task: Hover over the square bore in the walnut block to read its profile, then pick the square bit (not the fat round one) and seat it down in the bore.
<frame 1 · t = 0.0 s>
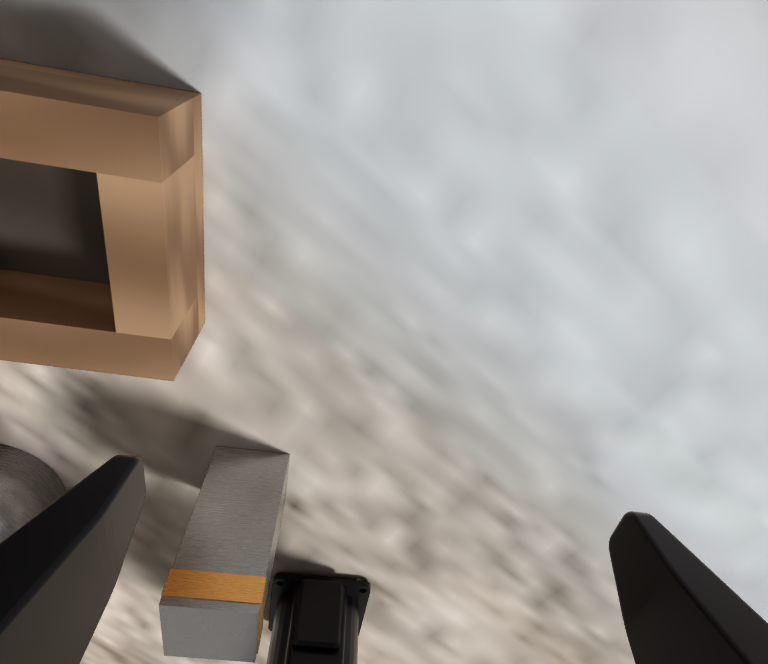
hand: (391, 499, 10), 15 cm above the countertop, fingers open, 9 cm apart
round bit: (6, 484, 31), on the countertop
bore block: (79, 202, 22), on the countertop
square bit: (252, 475, 30), on the countertop
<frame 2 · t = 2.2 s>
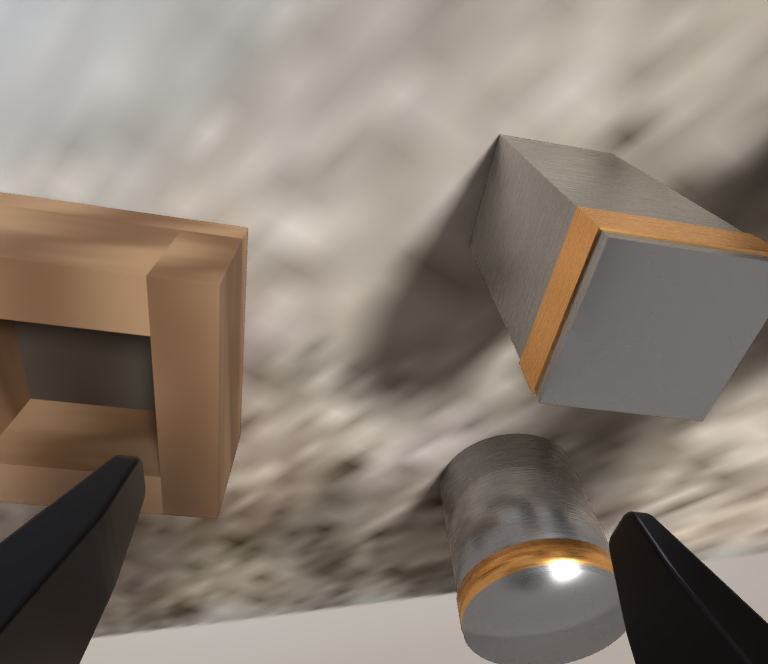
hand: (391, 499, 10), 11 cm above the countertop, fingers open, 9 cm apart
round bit: (505, 483, 26), on the countertop
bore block: (113, 329, 21), on the countertop
square bit: (538, 202, 19), on the countertop
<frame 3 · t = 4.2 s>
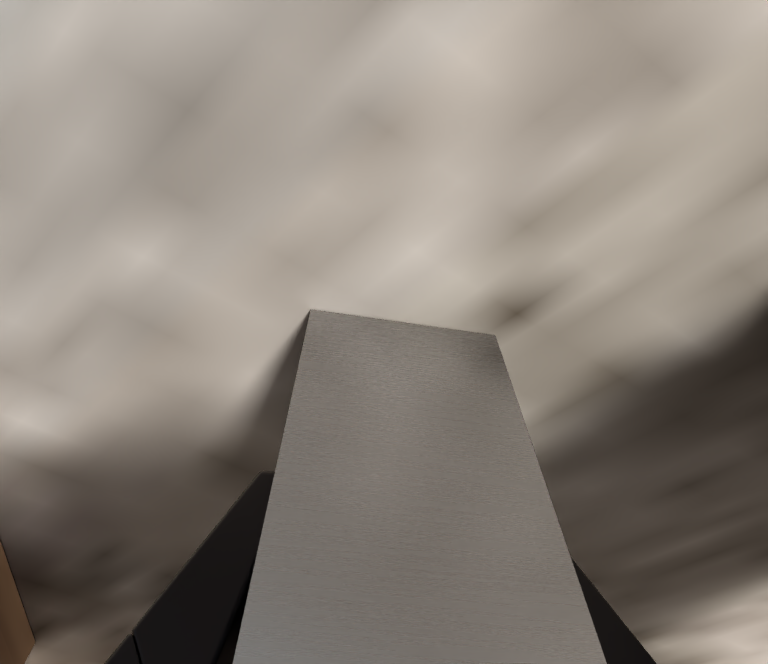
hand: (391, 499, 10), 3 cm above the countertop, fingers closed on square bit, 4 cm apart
square bit: (388, 395, 12), on the countertop, touching gripper
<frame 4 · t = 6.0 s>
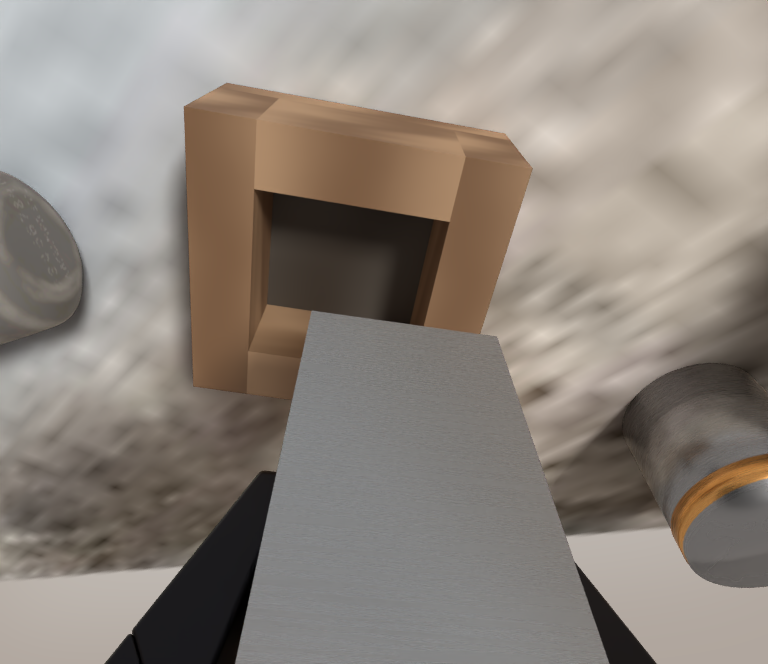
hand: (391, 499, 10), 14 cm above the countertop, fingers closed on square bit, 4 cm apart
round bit: (690, 416, 26), on the countertop
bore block: (350, 238, 21), on the countertop
square bit: (389, 396, 12), point 11 cm above the countertop, touching gripper
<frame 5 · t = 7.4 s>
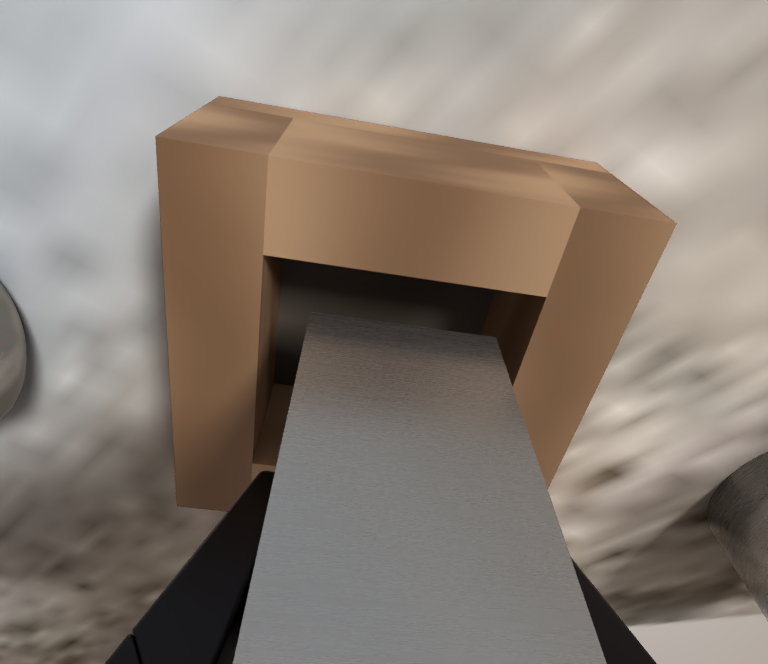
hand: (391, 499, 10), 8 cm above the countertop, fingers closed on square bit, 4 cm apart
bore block: (382, 297, 16), on the countertop
square bit: (388, 397, 12), point 5 cm above the countertop, touching gripper
when the fingers open (5 cm above the countertop, at t = 8.3 s): square bit drops 1 cm, resting on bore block.
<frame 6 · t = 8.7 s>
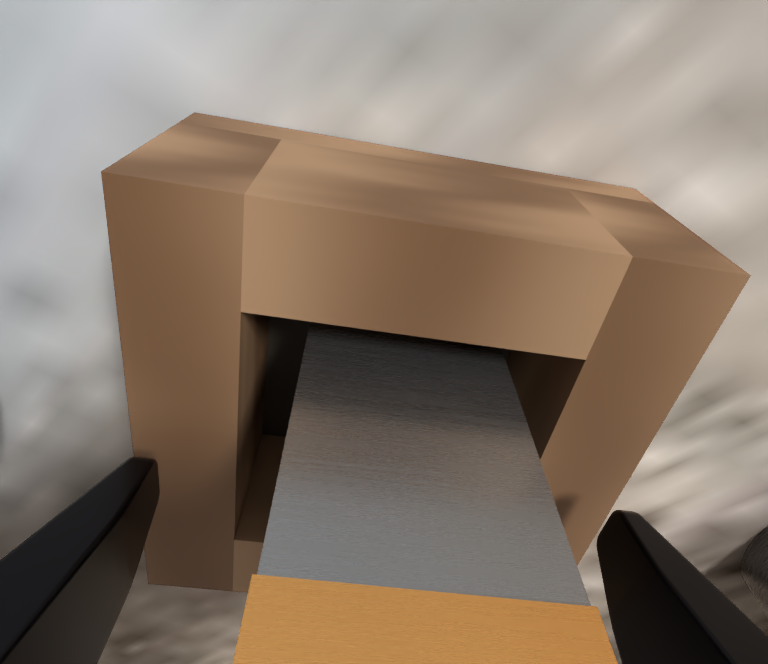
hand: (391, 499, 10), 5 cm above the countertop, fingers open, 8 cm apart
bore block: (385, 338, 14), on the countertop
square bit: (388, 361, 13), point 1 cm above the countertop, touching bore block
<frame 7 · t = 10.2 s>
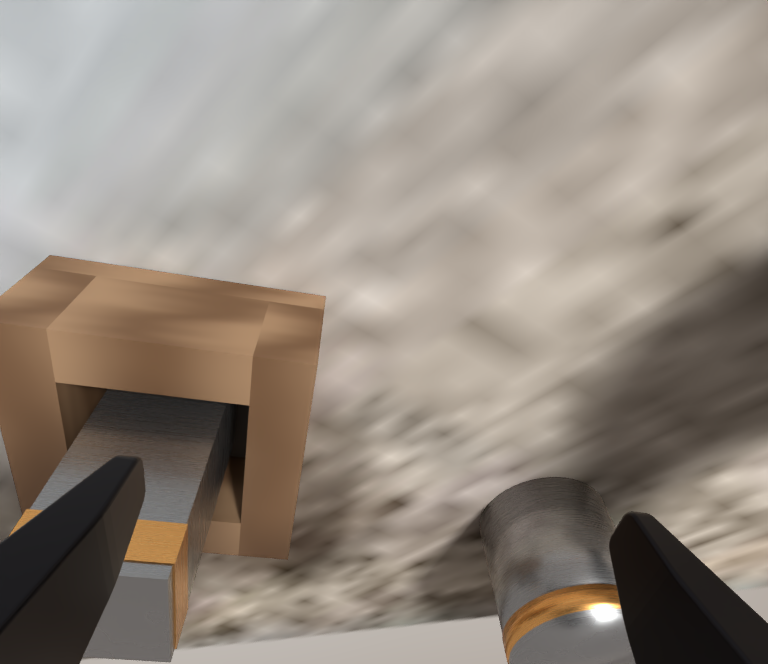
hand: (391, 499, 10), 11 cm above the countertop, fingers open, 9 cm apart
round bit: (541, 520, 28), on the countertop
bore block: (192, 381, 22), on the countertop
square bit: (186, 398, 21), point 1 cm above the countertop, touching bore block
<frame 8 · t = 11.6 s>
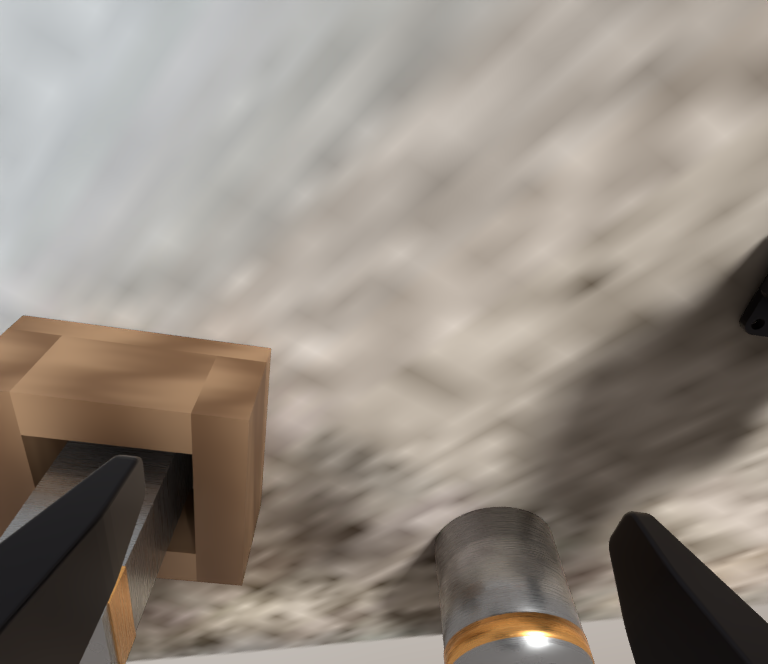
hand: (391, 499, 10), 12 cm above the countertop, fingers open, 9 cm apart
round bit: (493, 546, 30), on the countertop
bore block: (156, 422, 25), on the countertop
square bit: (149, 438, 24), point 1 cm above the countertop, touching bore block
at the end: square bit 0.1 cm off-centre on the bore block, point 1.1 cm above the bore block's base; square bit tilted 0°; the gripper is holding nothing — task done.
